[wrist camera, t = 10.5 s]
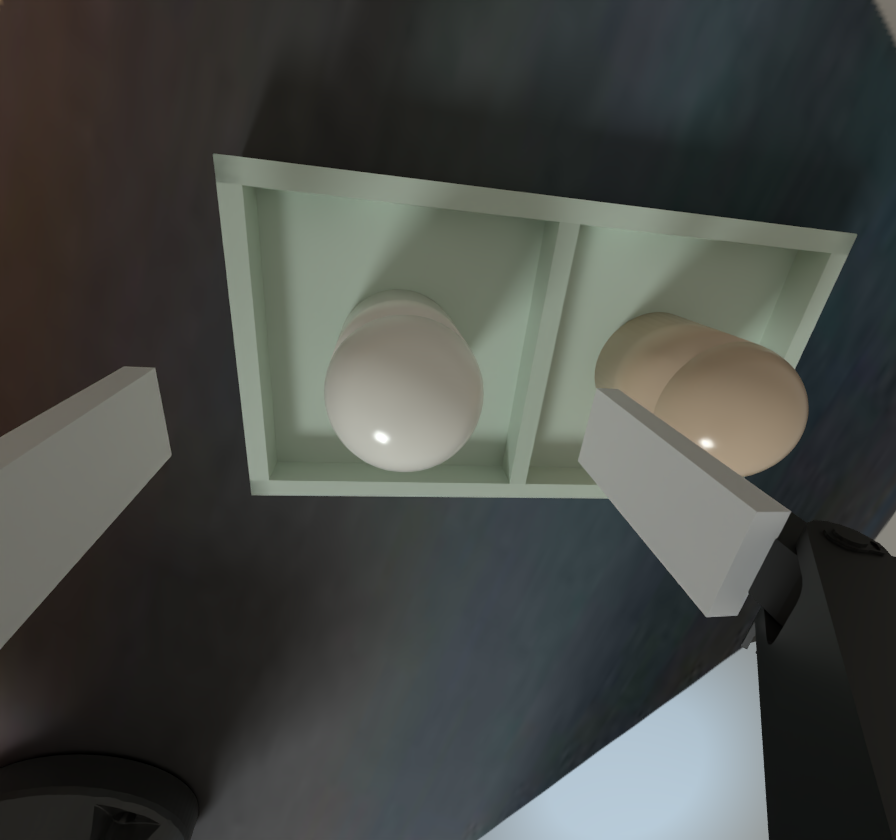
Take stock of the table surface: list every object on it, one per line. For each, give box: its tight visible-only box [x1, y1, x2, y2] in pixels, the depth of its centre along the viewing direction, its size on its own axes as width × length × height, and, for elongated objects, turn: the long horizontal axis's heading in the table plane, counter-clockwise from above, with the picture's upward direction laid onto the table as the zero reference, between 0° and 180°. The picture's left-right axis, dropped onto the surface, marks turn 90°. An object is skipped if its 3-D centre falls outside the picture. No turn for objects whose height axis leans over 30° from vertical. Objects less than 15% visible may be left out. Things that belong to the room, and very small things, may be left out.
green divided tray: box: [213, 153, 857, 498], centre depth 19 cm, size 24×13×2 cm, turn 84°
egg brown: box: [595, 312, 808, 477], centre depth 17 cm, size 5×5×8 cm
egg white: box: [324, 289, 484, 472], centre depth 15 cm, size 5×5×8 cm
